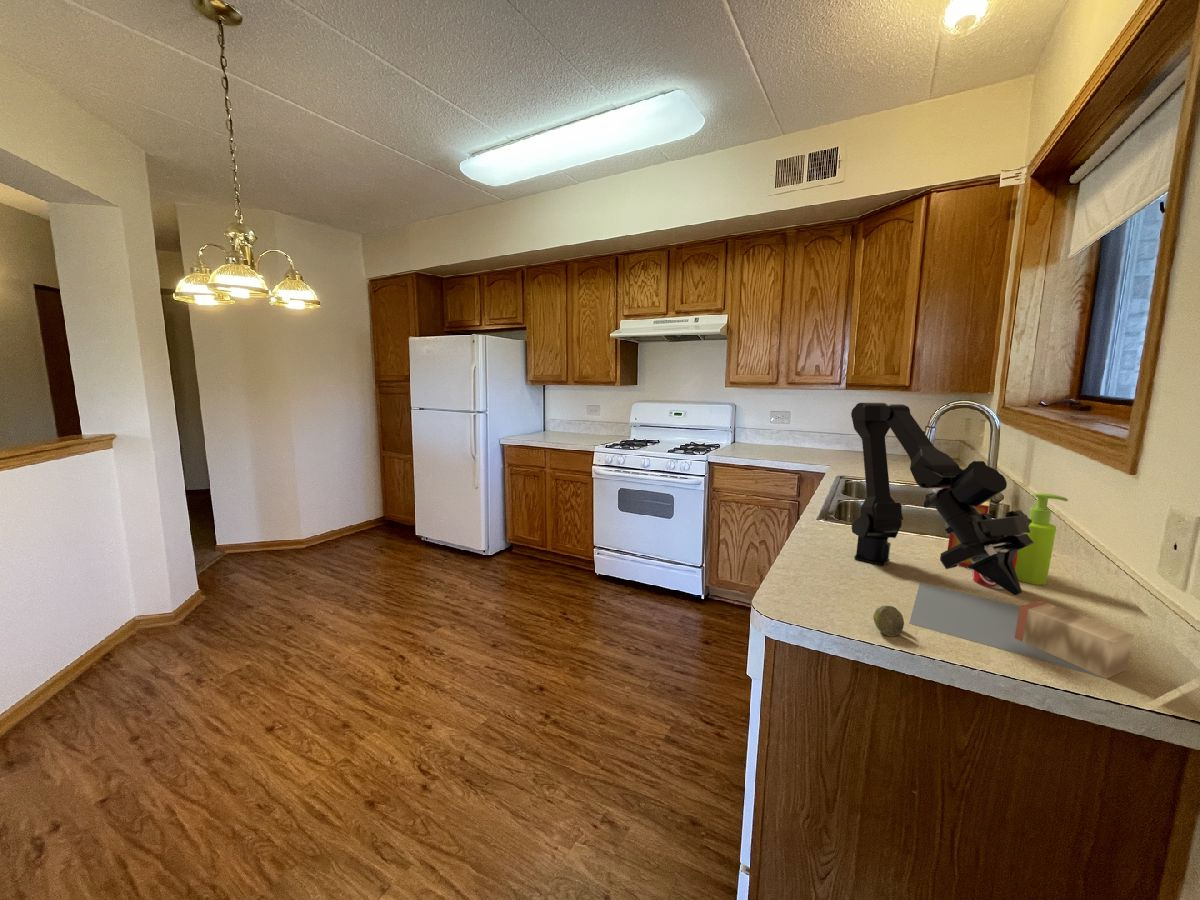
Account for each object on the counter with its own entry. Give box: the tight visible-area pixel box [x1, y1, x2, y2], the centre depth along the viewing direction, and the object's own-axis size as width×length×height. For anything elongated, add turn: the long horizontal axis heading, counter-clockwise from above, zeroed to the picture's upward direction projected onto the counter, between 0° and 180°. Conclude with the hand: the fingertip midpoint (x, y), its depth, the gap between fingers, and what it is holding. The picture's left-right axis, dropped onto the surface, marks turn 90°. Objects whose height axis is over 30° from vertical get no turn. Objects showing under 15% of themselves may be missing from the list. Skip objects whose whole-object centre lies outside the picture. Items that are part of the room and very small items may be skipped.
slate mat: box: [908, 582, 1111, 681], centre depth 90 cm, size 26×22×1 cm
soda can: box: [971, 552, 1018, 590], centre depth 105 cm, size 7×7×12 cm
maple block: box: [1015, 599, 1135, 680], centre depth 79 cm, size 6×6×12 cm
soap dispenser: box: [1015, 492, 1069, 586], centre depth 108 cm, size 6×7×20 cm
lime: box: [873, 605, 905, 637], centre depth 86 cm, size 4×5×5 cm
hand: (1018, 594), depth 86 cm, fingers closed
